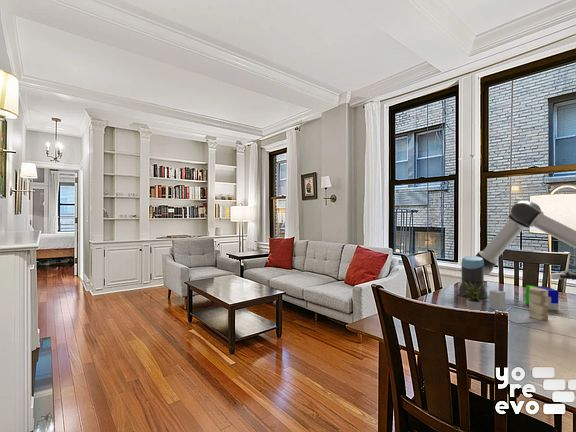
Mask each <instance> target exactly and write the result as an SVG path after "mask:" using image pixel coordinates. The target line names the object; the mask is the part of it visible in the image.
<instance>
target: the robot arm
mask: <svg viewBox="0 0 576 432" xmlns="http://www.w3.org/2000/svg"><path fill="white" fill-rule="evenodd" d="M507 219H508V220H507V222H506V223H505V224H504V226H503V227H502V228H501V229H500V230H499V231H498V232H497V234H496V235H495V236H494V237H493V239H492V240H491V241H490V242H489V243H488V245H486V247H485V248H484V249H483V250H480V251H478V252H477V253H476V254H475V256H474V255H473V256H472V255H470V256H464V257H462V259H461V284H459V289H458V295H459V296H462V297H464V298H468V297H469V298H470V296H469V295H468V293H467V292H465V291H469V290H468V289H467V288H468V287H470V282H471V284H472V285H473V286H474V285H475V284H476V283H477V284H476V285H475V289H474V291H476V289H478V288H480V286H481V285H482V286H481V288H480V290H479V291H481V290H482V289H483V288H484V289H483V290H482V291H481V292H480V293H479V294H484V295H481V296H480V297H479V298H478V299H480V300H481V299H486V298H488V292H487V290H486V288H485V287H486V286H485V283H484V282H485V279H484V277H485V276H486V275H489V274H490V273H491V272H492V271H493V270H494V267H495V266H496V265H497V264H498V261H497V259H498V258H499V257H500V256H501V255H502V254H503V253H504V251H505V250H506V249H507V248H509V246H510V245H511V244H512V243H513V242H514V241H515V239H516V238H517V236H519V234H520V233H521V232H522V231H523V230H524V229H528V228H530V227H531V228H532V227H534V228H536V229H538V230H540V231H542V232H544V233H546V234H548V235H549V236H551V237H553V238H555V239H557V240H559V241H560V242H562V243H564V244H567V245H568V246H570V247H572V248H574V249H576V230H575V229H573V228H572V227H569V226H567V225H566V224H563V223H561V222H559V221H557V220H556V219H553V218H551V217H550V216H547V215H545V214H544V212H543V211H542V209H541V207H540V205H538V204H537V203H536V202H533V201H523V200H522V201H518V202H516V203H515V204H513V206H512V207H511V209H510V213H509V215H508V216H507ZM550 278H551V280H571V281H574V280H575V281H576V270H569V269H567V270H564V271H563V270H562V271H558V272H555V273H553V272H552V273H551V274H550ZM463 281H464V282H463ZM476 281H477V282H476ZM465 282H466V283H467V285H468V287H467V285H466V284H465ZM463 284H464V285H465V286H466V287H467V288H466V287H465V286H464V285H463ZM461 285H462V286H461ZM463 286H464V287H465V288H466V289H465V288H464V287H463ZM470 288H471V287H470ZM459 291H460V292H459ZM463 293H466V295H467V296H468V297H467V296H466V295H465V294H464V295H462V294H463ZM470 294H471V293H470ZM485 294H486V295H485ZM483 296H484V297H483ZM481 297H482V298H481Z"/></svg>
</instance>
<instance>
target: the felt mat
mask: <svg viewBox="0 0 576 432" xmlns="http://www.w3.org/2000/svg"><path fill="white" fill-rule="evenodd" d="M508 316H509V320H508V321H510V322H513V323H514V324H517V325H518V324H519V325H520V324H532V323H533V324H534V323H540V321H541V320H537V319H534V318H531V317H529V316H525V315H522V314H521V315H520V314H517V315H508Z"/></svg>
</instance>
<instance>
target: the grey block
mask: <svg viewBox="0 0 576 432" xmlns="http://www.w3.org/2000/svg"><path fill="white" fill-rule="evenodd" d="M488 294H489V295H488V297H489V299H488V301H489V302H488V303H489V305H488V307H489V309H493V310H497V311H502V310H505V309H506V292H505V291H503V290H497V289H493V290H489V291H488Z"/></svg>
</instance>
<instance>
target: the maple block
mask: <svg viewBox="0 0 576 432" xmlns="http://www.w3.org/2000/svg"><path fill="white" fill-rule="evenodd" d="M528 317H529V318H531V319H534V320H537V321H547V320H549V309H548V290H545V289H541V288H529V305H528Z"/></svg>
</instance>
